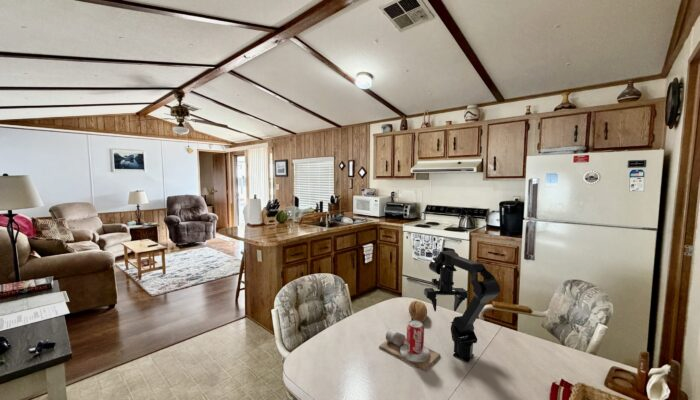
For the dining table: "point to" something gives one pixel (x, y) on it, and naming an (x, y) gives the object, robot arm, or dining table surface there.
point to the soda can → (415, 337)
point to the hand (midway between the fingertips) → (444, 311)
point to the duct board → (399, 349)
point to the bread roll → (418, 311)
